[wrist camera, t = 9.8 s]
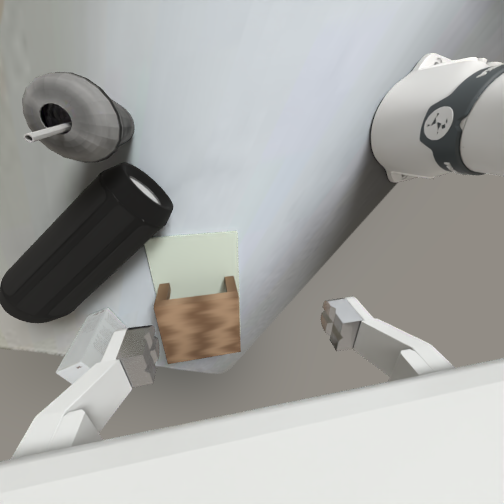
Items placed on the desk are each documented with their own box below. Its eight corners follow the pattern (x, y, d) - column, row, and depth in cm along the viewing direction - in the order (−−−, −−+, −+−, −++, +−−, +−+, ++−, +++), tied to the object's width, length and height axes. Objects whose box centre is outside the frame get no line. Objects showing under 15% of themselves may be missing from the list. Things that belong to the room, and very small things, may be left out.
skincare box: (87, 315, 44) (53, 372, 34) (108, 306, 44) (80, 360, 34) (107, 335, 47) (82, 393, 37) (127, 326, 47) (107, 382, 37)
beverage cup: (132, 86, 30) (44, 28, 13) (153, 147, 34) (105, 167, 16) (73, 95, 29) (-106, 47, 12) (101, 156, 33) (-7, 188, 15)
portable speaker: (80, 296, 42) (50, 340, 33) (20, 263, 37) (-33, 304, 29) (180, 202, 38) (175, 224, 29) (127, 152, 33) (102, 161, 25)
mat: (237, 230, 42) (237, 231, 42) (240, 333, 54) (240, 335, 54) (143, 238, 39) (142, 239, 39) (168, 344, 51) (168, 346, 51)
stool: (238, 296, 40) (240, 351, 47) (233, 275, 46) (235, 327, 52) (153, 307, 38) (167, 364, 44) (159, 284, 43) (171, 337, 50)
